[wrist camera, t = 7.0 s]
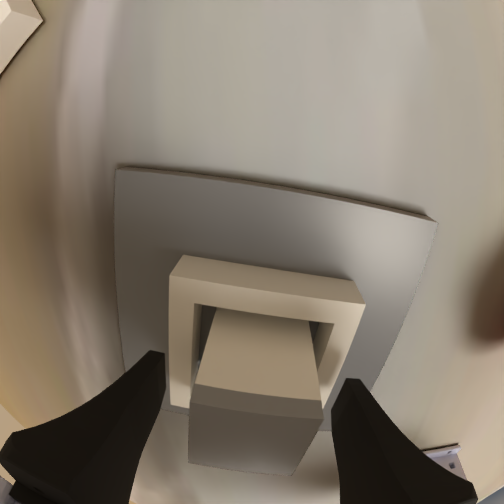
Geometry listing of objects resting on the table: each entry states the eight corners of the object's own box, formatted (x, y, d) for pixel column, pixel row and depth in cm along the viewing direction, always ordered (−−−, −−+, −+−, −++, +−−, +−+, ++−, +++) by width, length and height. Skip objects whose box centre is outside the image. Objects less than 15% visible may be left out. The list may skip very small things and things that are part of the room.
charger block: (307, 314, 14) (324, 419, 8) (288, 376, 15) (291, 475, 10) (218, 300, 14) (189, 401, 8) (211, 365, 15) (188, 462, 10)
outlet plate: (428, 216, 13) (461, 238, 10) (344, 420, 18) (351, 455, 15) (125, 166, 13) (91, 177, 10) (135, 390, 18) (120, 423, 15)
